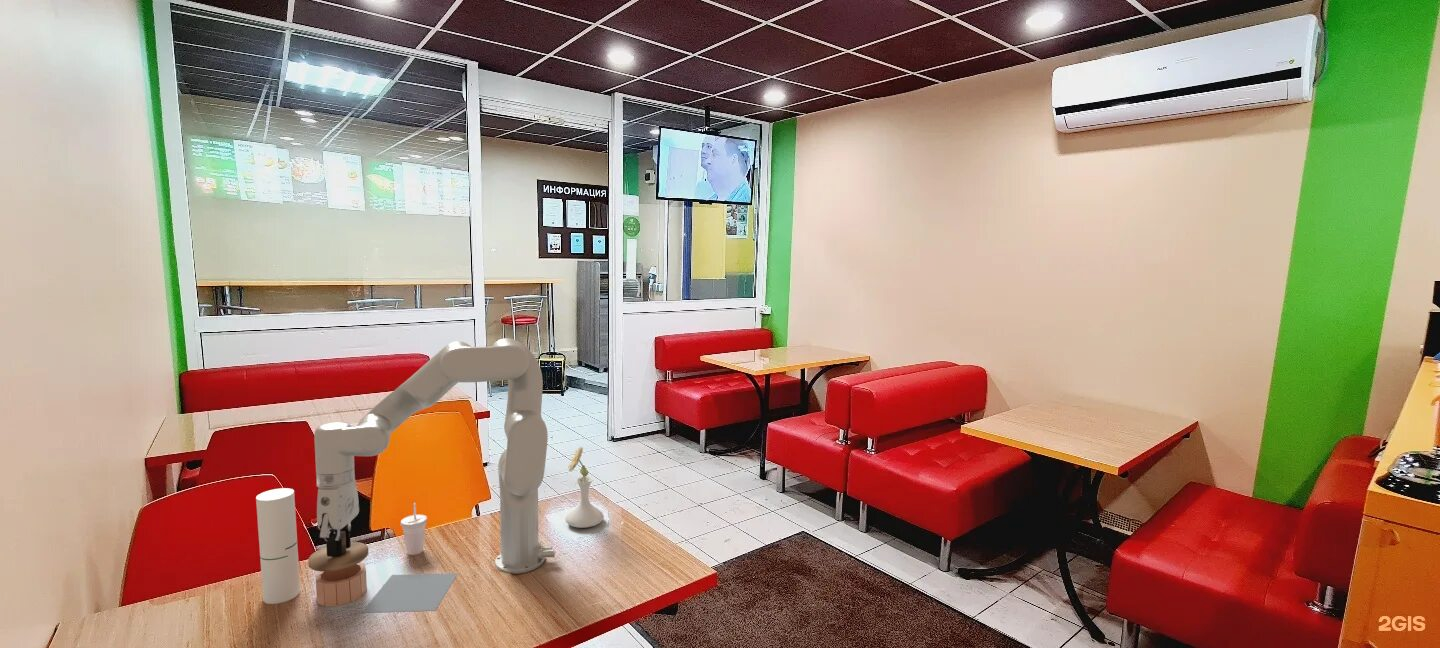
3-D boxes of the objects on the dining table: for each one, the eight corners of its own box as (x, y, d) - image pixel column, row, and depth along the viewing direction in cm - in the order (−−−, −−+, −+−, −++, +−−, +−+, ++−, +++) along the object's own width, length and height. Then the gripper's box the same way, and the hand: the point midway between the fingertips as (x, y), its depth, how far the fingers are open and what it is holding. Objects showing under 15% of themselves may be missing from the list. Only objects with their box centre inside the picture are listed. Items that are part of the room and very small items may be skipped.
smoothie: (433, 548, 169) (431, 499, 167) (419, 560, 163) (417, 509, 161) (411, 546, 170) (409, 498, 168) (396, 558, 163) (394, 508, 162)
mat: (458, 575, 156) (458, 573, 156) (435, 612, 140) (435, 610, 140) (392, 577, 154) (392, 574, 154) (361, 615, 138) (361, 612, 138)
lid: (377, 545, 151) (376, 522, 150) (353, 570, 139) (352, 545, 138) (325, 546, 150) (324, 522, 149) (297, 572, 138) (295, 546, 137)
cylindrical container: (307, 590, 147) (301, 491, 144) (277, 606, 141) (270, 502, 138) (286, 584, 150) (279, 486, 146) (255, 600, 143) (248, 497, 140)
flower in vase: (572, 513, 193) (572, 436, 190) (608, 516, 192) (608, 439, 189) (557, 532, 180) (557, 450, 177) (595, 535, 179) (595, 452, 176)
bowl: (374, 583, 151) (373, 560, 150) (354, 607, 141) (352, 583, 140) (331, 585, 150) (329, 561, 149) (307, 608, 140) (306, 584, 139)
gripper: (334, 490, 134) (337, 569, 136) (369, 464, 150) (372, 535, 152) (297, 490, 133) (301, 570, 136) (337, 464, 150) (340, 535, 152)
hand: (339, 551), depth 144 cm, fingers closed on lid, 3 cm apart
